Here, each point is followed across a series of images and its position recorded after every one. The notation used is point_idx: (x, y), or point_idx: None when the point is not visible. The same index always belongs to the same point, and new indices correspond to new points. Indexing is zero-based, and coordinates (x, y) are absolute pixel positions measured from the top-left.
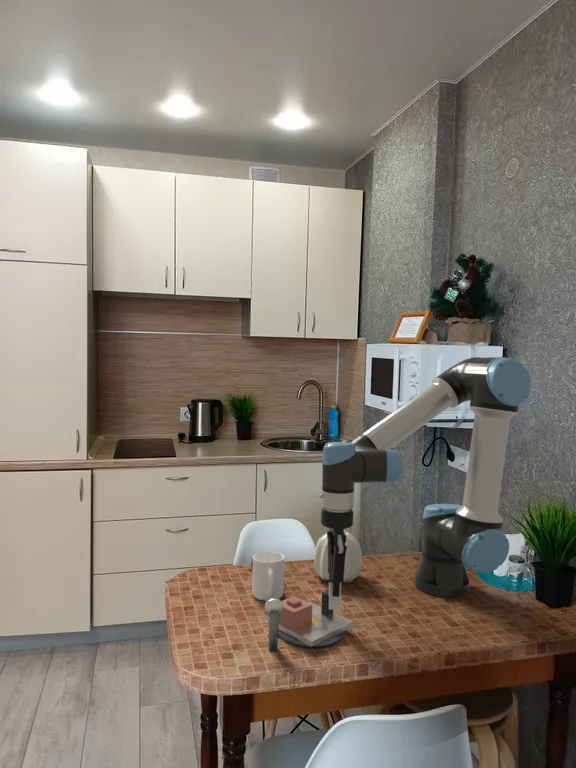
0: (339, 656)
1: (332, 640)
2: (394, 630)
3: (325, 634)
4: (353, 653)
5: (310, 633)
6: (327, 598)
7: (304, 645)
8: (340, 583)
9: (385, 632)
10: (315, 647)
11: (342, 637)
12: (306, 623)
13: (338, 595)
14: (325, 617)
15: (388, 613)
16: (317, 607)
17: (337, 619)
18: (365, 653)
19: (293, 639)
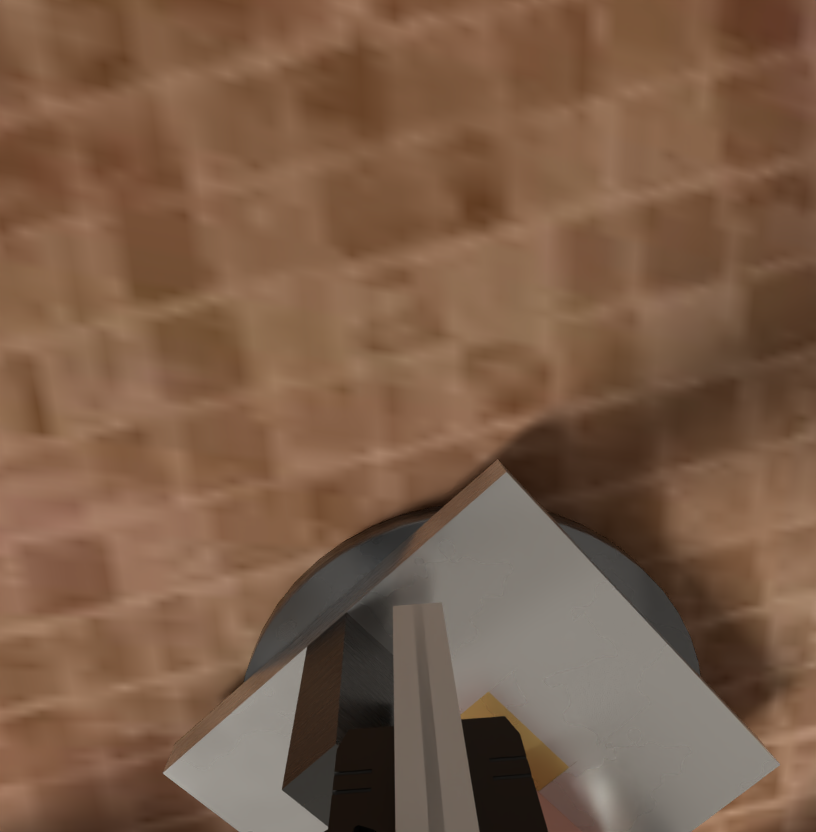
0: (787, 561)
1: (668, 609)
2: (455, 109)
3: (695, 681)
4: (763, 475)
5: (676, 770)
6: None
7: None
8: (475, 823)
9: (489, 196)
10: None
11: (593, 533)
12: (542, 797)
13: (515, 734)
14: None
15: (134, 90)
16: (265, 721)
17: (468, 589)
18: (772, 399)
19: None
